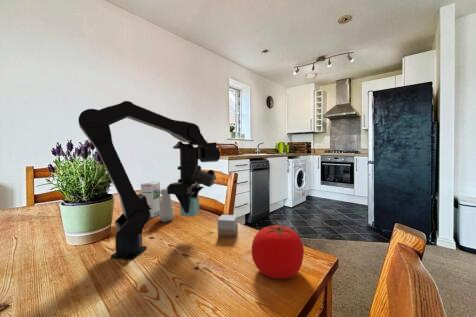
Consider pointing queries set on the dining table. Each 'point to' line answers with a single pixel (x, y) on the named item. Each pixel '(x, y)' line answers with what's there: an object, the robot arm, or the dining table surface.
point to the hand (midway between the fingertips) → (189, 210)
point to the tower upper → (227, 222)
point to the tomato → (277, 251)
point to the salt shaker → (166, 207)
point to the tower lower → (227, 233)
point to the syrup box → (152, 196)
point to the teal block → (191, 207)
